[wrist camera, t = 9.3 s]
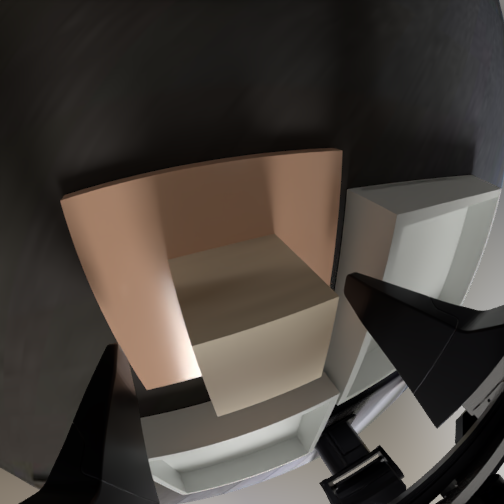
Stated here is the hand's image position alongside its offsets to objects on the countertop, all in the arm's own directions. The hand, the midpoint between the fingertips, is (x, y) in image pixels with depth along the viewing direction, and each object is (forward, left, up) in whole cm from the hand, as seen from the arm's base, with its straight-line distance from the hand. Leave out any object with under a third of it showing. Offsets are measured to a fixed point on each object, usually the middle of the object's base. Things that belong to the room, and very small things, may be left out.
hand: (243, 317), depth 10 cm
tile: (0, 0, -2) cm, 2 cm away
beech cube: (0, 0, -2) cm, 2 cm away
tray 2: (-4, -13, -2) cm, 14 cm away
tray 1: (-16, +2, -2) cm, 16 cm away
